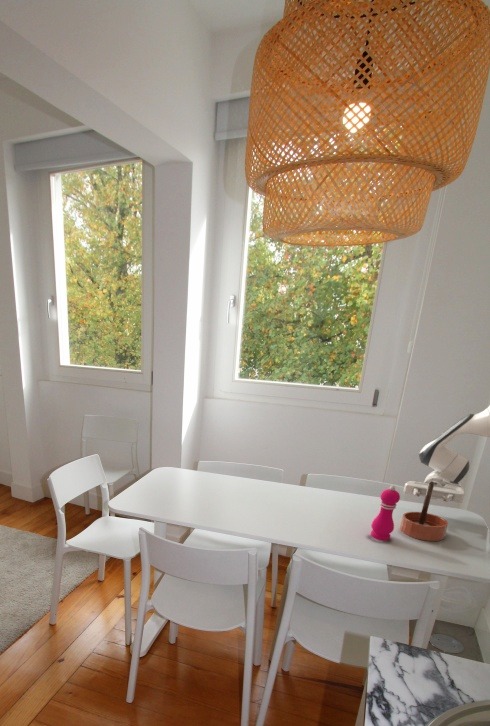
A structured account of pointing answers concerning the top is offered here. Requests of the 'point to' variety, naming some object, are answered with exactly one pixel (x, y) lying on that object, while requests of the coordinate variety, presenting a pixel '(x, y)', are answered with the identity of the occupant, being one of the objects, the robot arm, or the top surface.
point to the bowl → (423, 526)
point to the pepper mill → (385, 515)
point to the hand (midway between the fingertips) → (431, 497)
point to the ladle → (426, 503)
